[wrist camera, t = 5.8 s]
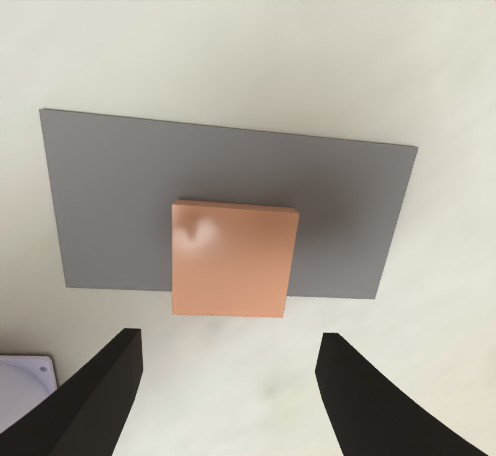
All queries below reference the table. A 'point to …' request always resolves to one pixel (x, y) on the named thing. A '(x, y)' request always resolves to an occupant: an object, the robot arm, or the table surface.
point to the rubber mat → (218, 197)
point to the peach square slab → (231, 258)
